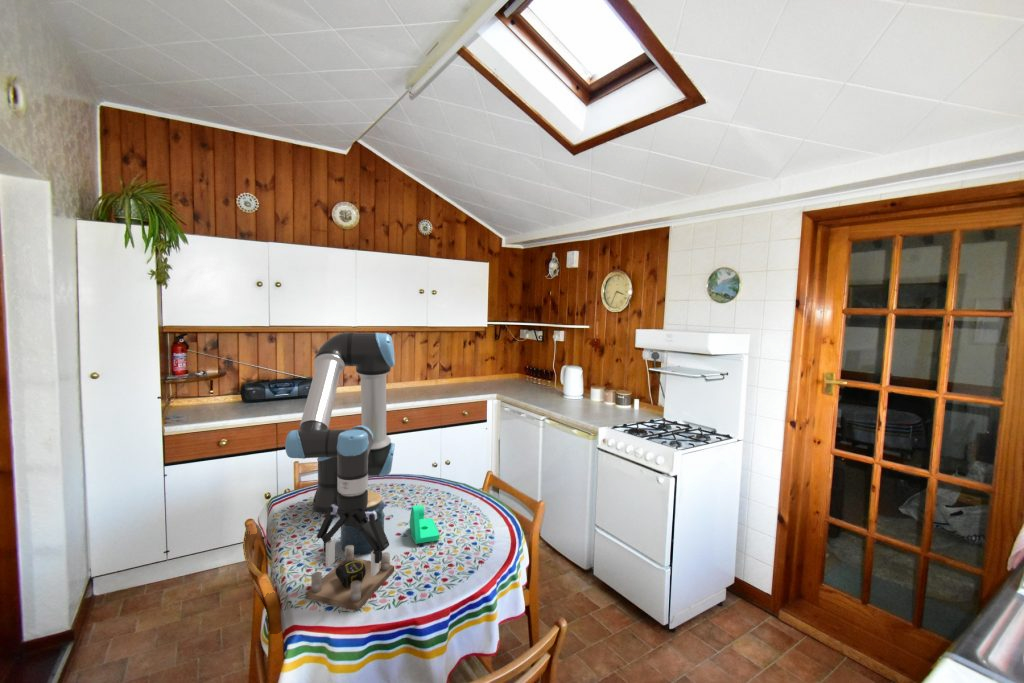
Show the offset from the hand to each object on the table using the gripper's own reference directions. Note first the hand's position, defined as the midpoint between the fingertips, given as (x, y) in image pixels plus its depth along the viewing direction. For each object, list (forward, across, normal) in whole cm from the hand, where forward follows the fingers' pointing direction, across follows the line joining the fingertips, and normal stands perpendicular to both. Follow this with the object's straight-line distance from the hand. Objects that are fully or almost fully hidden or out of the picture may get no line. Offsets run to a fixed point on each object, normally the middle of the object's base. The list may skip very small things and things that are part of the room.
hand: (352, 568), depth 116 cm
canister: (+4, -9, +18) cm, 21 cm away
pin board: (+4, 0, 0) cm, 4 cm away
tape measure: (+3, 0, -1) cm, 3 cm away
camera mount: (+5, +6, +29) cm, 30 cm away
